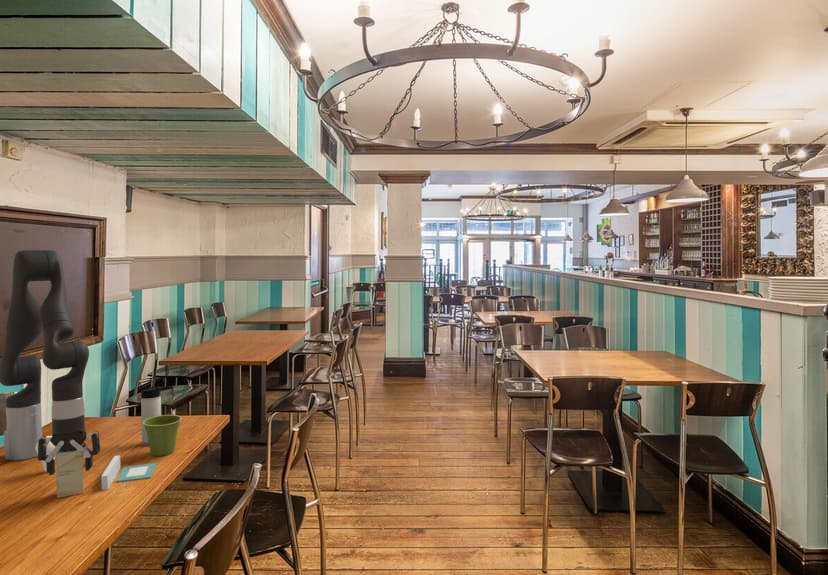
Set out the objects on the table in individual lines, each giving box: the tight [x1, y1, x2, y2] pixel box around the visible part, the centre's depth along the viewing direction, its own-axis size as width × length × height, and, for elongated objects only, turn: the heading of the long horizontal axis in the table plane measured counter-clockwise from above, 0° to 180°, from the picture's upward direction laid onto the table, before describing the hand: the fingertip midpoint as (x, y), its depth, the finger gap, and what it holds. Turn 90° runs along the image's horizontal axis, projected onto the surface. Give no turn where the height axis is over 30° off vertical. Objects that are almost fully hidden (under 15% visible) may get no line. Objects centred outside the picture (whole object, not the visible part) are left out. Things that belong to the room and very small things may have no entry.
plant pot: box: [143, 414, 183, 457], centre depth 171 cm, size 12×12×11 cm
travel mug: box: [140, 386, 162, 446], centre depth 181 cm, size 6×7×20 cm
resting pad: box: [116, 462, 158, 483], centre depth 155 cm, size 9×11×1 cm
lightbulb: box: [35, 435, 57, 473], centre depth 155 cm, size 6×6×11 cm
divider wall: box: [100, 455, 121, 491], centre depth 151 cm, size 2×16×4 cm, turn 19°
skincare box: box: [56, 450, 84, 499], centre depth 141 cm, size 6×4×12 cm
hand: (70, 472), depth 141 cm, fingers open, 8 cm apart
